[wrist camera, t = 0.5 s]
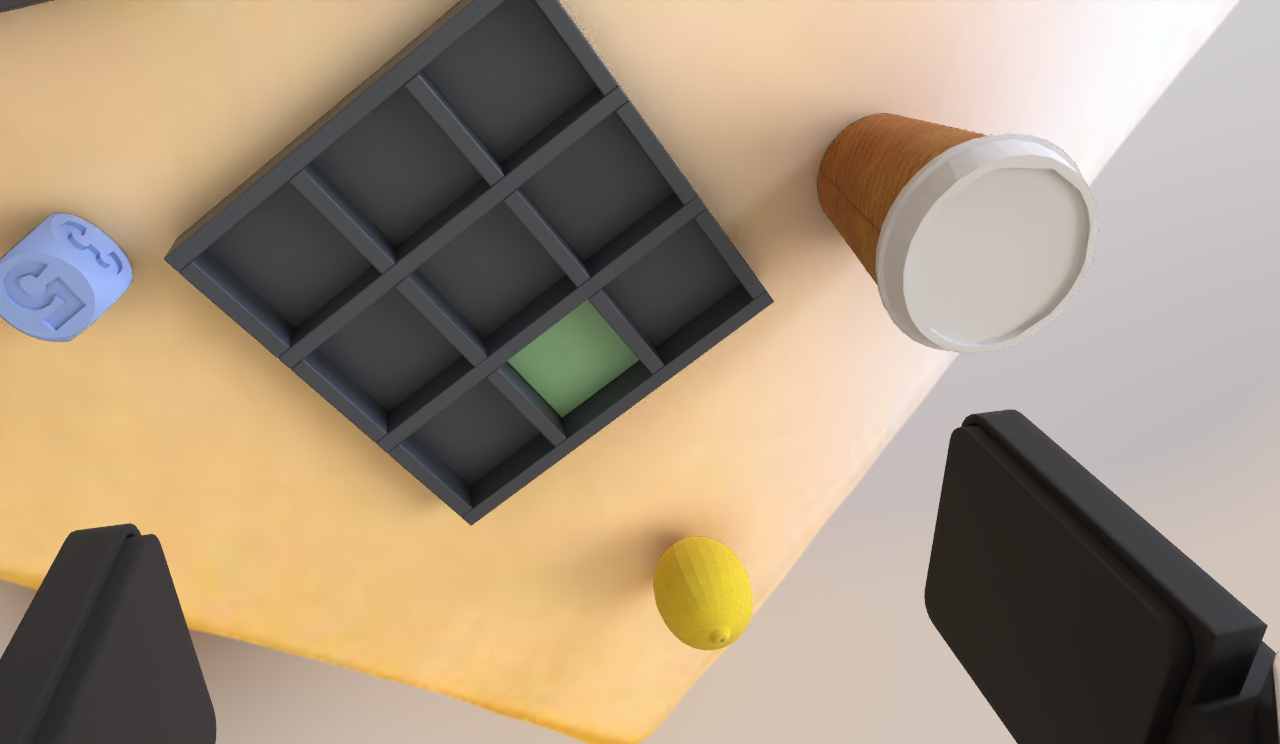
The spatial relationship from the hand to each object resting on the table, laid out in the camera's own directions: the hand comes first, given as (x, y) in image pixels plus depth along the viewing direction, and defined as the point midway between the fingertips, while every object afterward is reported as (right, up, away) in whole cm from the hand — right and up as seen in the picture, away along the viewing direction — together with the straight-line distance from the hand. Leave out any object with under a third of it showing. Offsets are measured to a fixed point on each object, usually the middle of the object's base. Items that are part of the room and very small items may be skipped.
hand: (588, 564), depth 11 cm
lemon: (+3, -8, +46) cm, 47 cm away
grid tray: (-7, +8, +34) cm, 36 cm away
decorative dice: (-25, +7, +30) cm, 40 cm away
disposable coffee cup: (+13, +13, +37) cm, 41 cm away
